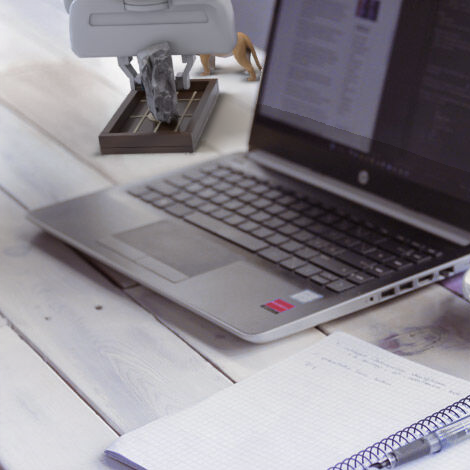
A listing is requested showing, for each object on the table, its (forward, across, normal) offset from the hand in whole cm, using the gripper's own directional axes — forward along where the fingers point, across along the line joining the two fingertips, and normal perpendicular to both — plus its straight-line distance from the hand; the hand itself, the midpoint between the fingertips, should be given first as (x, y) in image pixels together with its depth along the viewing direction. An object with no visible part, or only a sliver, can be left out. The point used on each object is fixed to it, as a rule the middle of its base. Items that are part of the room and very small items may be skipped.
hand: (161, 88), depth 119 cm
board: (+5, 0, 0) cm, 5 cm away
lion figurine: (+5, +4, +20) cm, 21 cm away
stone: (+4, 0, 0) cm, 4 cm away
